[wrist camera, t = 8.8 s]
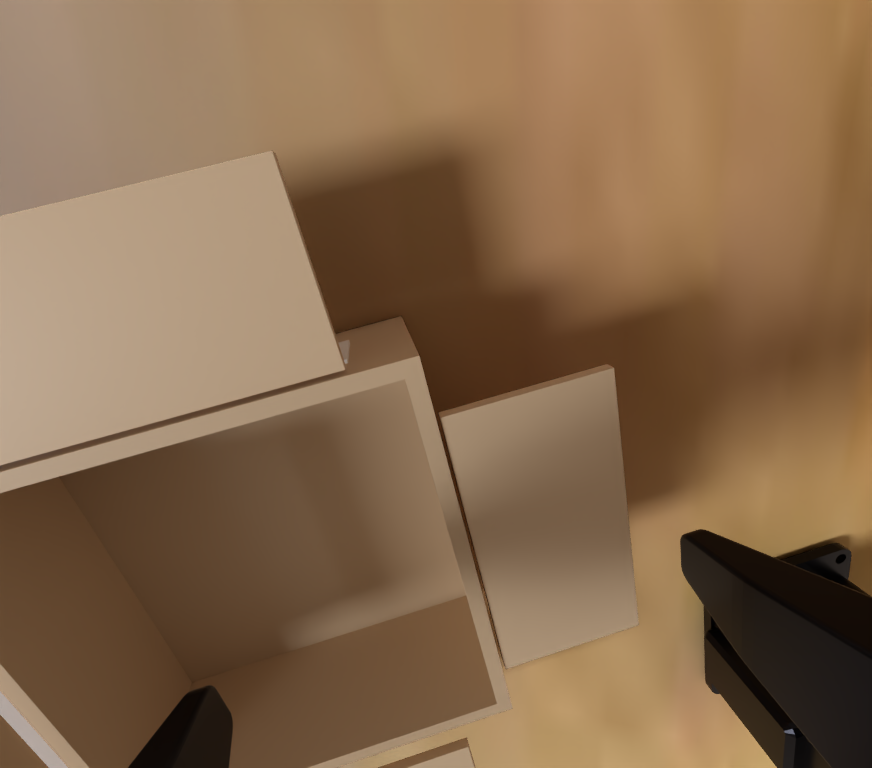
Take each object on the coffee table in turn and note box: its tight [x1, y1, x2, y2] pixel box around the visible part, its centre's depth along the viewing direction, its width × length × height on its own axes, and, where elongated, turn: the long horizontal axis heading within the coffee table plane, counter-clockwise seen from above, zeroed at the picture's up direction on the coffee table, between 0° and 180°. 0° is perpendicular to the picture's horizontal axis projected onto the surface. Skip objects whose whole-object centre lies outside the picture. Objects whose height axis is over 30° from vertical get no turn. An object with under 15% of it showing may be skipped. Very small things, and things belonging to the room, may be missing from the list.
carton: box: [0, 151, 639, 768], centre depth 12 cm, size 15×15×4 cm
